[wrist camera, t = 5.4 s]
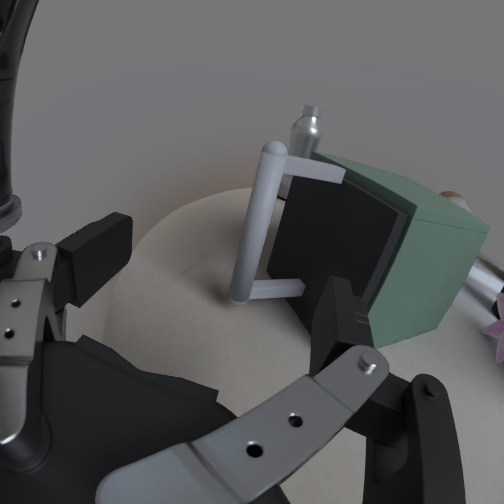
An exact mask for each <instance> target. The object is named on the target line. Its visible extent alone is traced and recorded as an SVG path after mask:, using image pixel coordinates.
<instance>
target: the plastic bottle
mask: <svg viewBox="0 0 504 504" xmlns="http://www.w3.org/2000/svg"><path fill="white" fill-rule="evenodd" d="M302 113H303V116H302V117H301V118H300V119H298V120H297V121H296V122H295V123H294V124H293V126H292V128H291V134H290V142H289V148H288V155H291V156H296V157H298V156H301V157H306V158H309V159H310V156H311V152H312V151H317V149H318V147H319V145H320V142H321V140H322V137H323V131H322V128H321V125H320V122H319V118H321V113H322V109H320V108H317V107H313V106H309V105H305V106H304V109H303V111H302ZM292 177H293V175H288V174H283V175H282V179H281V183H280V187H279V190H278V194H277V195H278V196H280V197H282V198H284V199H287V196H288V192H289V188H290V185H291V181H292Z"/></svg>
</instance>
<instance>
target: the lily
mask: <svg viewBox="0 0 504 504" xmlns="http://www.w3.org/2000/svg"><path fill="white" fill-rule="evenodd" d="M497 305H498V311H499V315H500V318H501V319H500V320H498V321H496V322H494V323H493V324H491V325H490V326H488V327H487V328H486V329H485V330H484V331H483V332H482V333H483V334H486V335H492V336H499V337H500V338H499V341H498V346H497V352H496V363H497V364H499V363H501V362H502V361H503V360H504V293H498V294H497Z"/></svg>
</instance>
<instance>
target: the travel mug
mask: <svg viewBox="0 0 504 504" xmlns="http://www.w3.org/2000/svg"><path fill="white" fill-rule="evenodd" d="M500 293H504V286H503V288H502V290H501V292H500ZM492 310H493V313H494V314H495V316H496V317H497V318H498V319H499V320H500V319H501V318H500V315H499V311H498V305H497V300H496V302H495V303H494V305H493V307H492Z"/></svg>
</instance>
